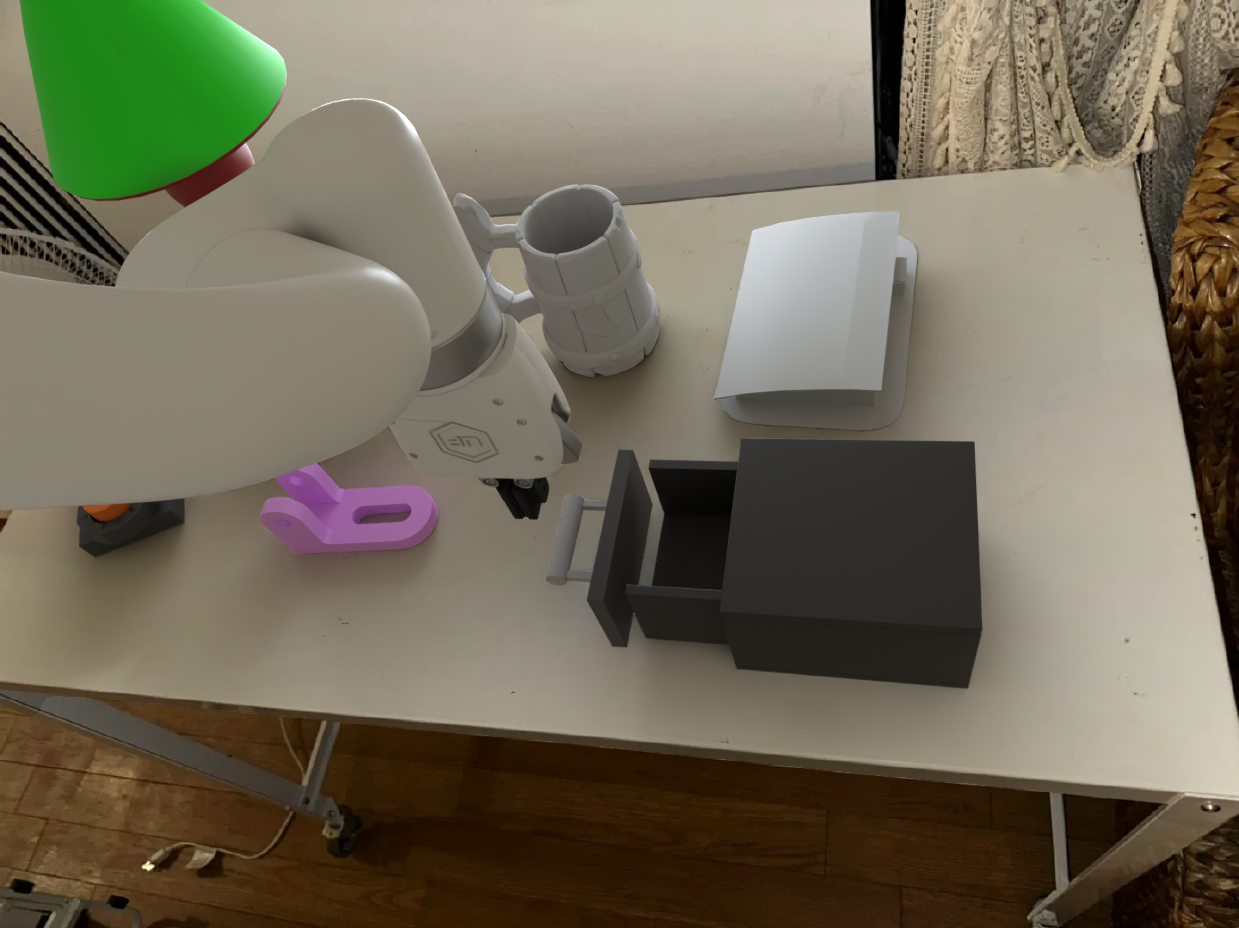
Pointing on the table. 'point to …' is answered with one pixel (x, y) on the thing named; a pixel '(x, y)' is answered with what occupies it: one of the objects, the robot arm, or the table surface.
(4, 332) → the robot arm
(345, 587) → the table surface
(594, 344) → the mug
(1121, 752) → the table surface
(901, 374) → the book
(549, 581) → the dark grey drawer
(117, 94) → the table lamp
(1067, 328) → the table surface
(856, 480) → the dark grey drawer cabinet
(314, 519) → the bracket
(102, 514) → the button
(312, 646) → the table surface
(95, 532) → the control block
